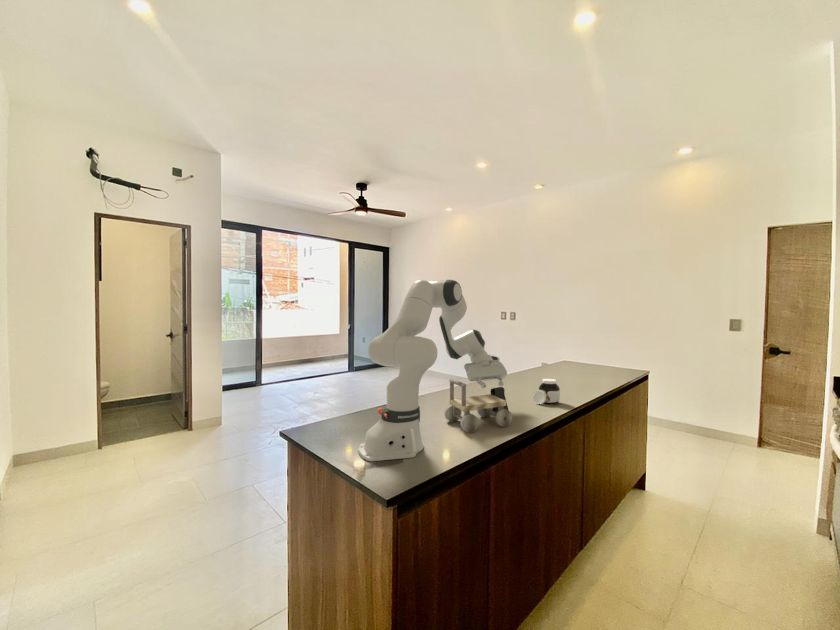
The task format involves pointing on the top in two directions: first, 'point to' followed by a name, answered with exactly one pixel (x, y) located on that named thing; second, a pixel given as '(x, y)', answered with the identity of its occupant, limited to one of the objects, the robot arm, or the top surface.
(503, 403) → the wheeled trolley
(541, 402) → the spread jar
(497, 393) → the door stopper
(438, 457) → the top surface
